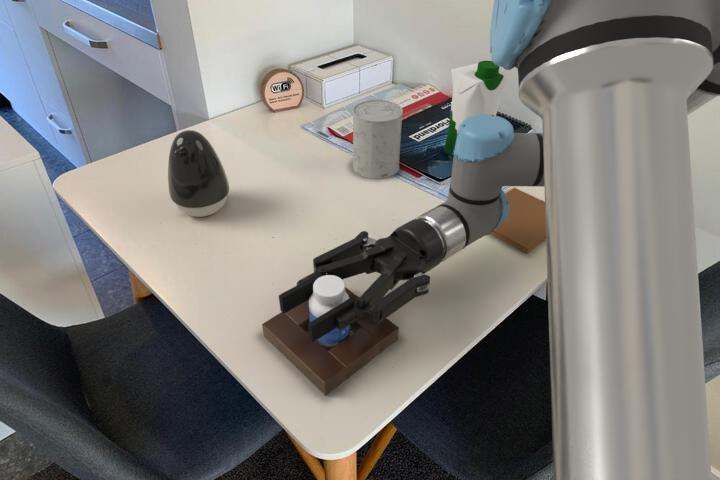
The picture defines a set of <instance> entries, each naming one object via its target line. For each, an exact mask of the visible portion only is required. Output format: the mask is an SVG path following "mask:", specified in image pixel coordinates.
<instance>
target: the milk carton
mask: <svg viewBox="0 0 720 480" xmlns="http://www.w3.org/2000/svg"><path fill="white" fill-rule="evenodd" d="M500 67H501V66H497V65H495V64H494V63H493V61H492V60H481V61H479V62H476V63H472V64H468V65H464V66H460V67H456V68H452V69H451V70H450V71H451V82H452V95H451V96H452V98H451V106H450V114H449V120H448V121H449V122H448V129H447V135H446V138H445V143H444V147H445V148H446V149H447V150H446V149H445V148H444V147H443V152H444V153H445V154H446V155H448V156H450V157H451V158H452V159H453V158H454V147H455V144H456V138H457V133H458V130H459V126H460V124H461V123H462V122H463V121H464V120H465V119H466V118H468V117H470V116H474V115H480V114H488V115H491V116H494V117H495V116H498V109H499V103H500V98H501V94H502V92H503V89H504V86H505V84H506V82H507V80H508V77H509V74H508V73H506V72H503V71H502V70H500ZM448 150H449V151H451V152H452V153H453V154H452V153H451V152H449V151H448Z"/></svg>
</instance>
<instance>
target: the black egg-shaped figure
mask: <svg viewBox="0 0 720 480" xmlns="http://www.w3.org/2000/svg"><path fill="white" fill-rule="evenodd" d="M167 186H168V193H169V197H170V199H171V201H172V202H173V203H174V204H175V206H176V207H177V208H178V209H179V210H180V211H181V212H182V213H184V214H186V215H189V216H190V217H191V216H192V217H197V218H201V217H208V216H211V215H213V214H216V213H217V212H219V211H220V210H221V209H222V208H223V207H224V206H225V205H226V204H225V203H227V200H228V196H229V193H230V181H229V179H228V176H227V173H226V170H225V168H224V165H223V163H222V161H221V159H220V157H219V155H218V153H217V151H216V150H215V148H214V147H213V145H212V143H210V141H209V140H208V139H207V138H206V137H205V136H204V135H203V134H202V133H201V132H199V131H197V130H193V129H187V130H182V131H180V132H179V133H177V134H176V136H175V137H174V138H173V140H172V143H171V146H170V149H169V154H168V163H167Z"/></svg>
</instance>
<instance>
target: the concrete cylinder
mask: <svg viewBox="0 0 720 480" xmlns="http://www.w3.org/2000/svg"><path fill="white" fill-rule="evenodd" d="M403 112H404V110H403V107H402V106H401V105H399V104H398V103H397V102H393V101H391V100H386V99H367V100H363V101H361V102H358V103H356V104H355V105H354V106H353V108H352V169H353V171H354V172H355V173H356V174H357V175H359V176H361V177H363V178H367V179H373V180H382V179H386V178H387V179H388V178H390V177H393V176H395V175H396V174H397V173H398V172H399V170H400V154H401V153H400V152H401V138H402V125H403V124H402V123H403Z"/></svg>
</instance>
